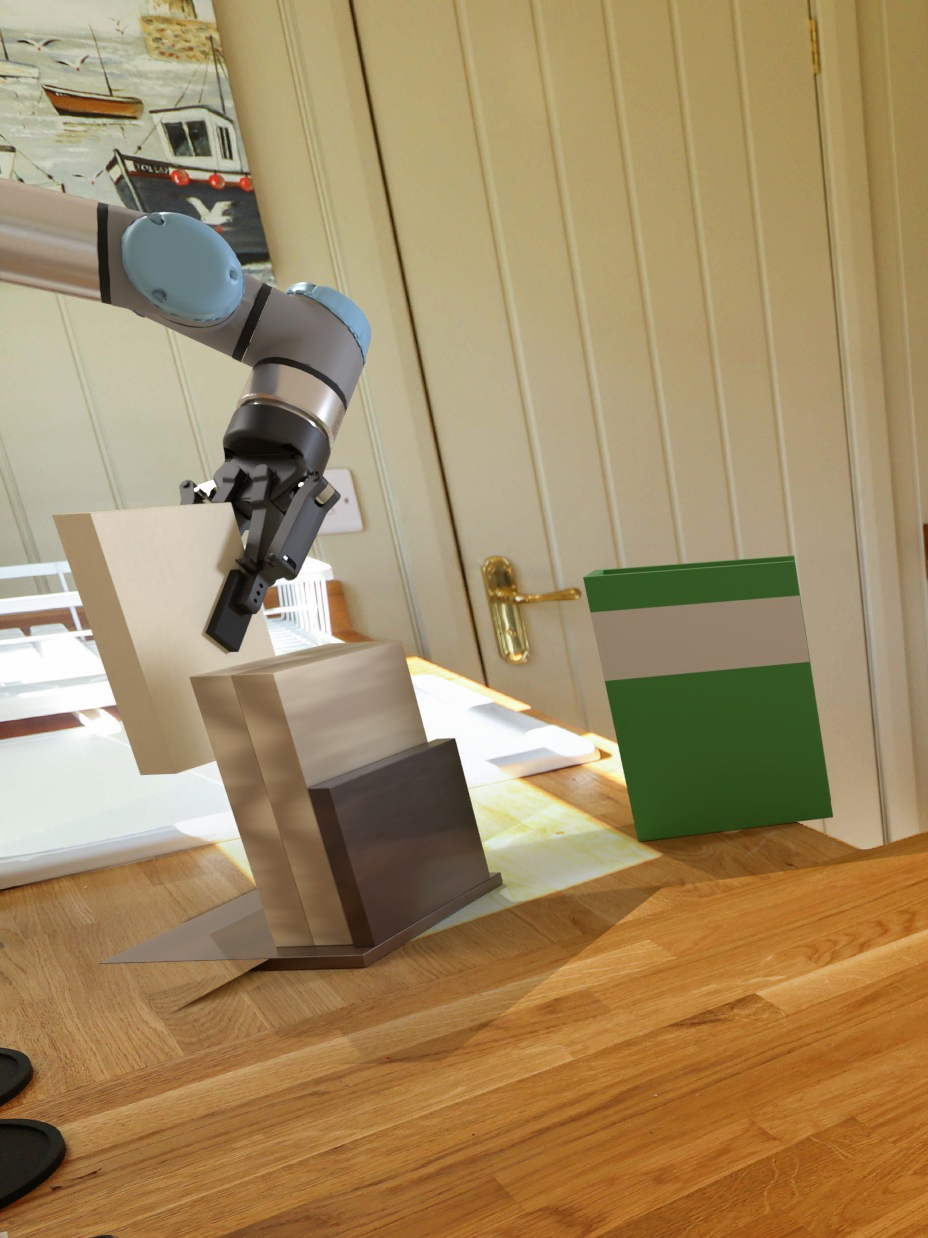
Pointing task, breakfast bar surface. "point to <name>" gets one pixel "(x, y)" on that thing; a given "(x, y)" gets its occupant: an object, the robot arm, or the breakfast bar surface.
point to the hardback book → (711, 694)
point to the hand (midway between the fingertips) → (201, 642)
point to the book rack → (331, 813)
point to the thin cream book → (159, 617)
